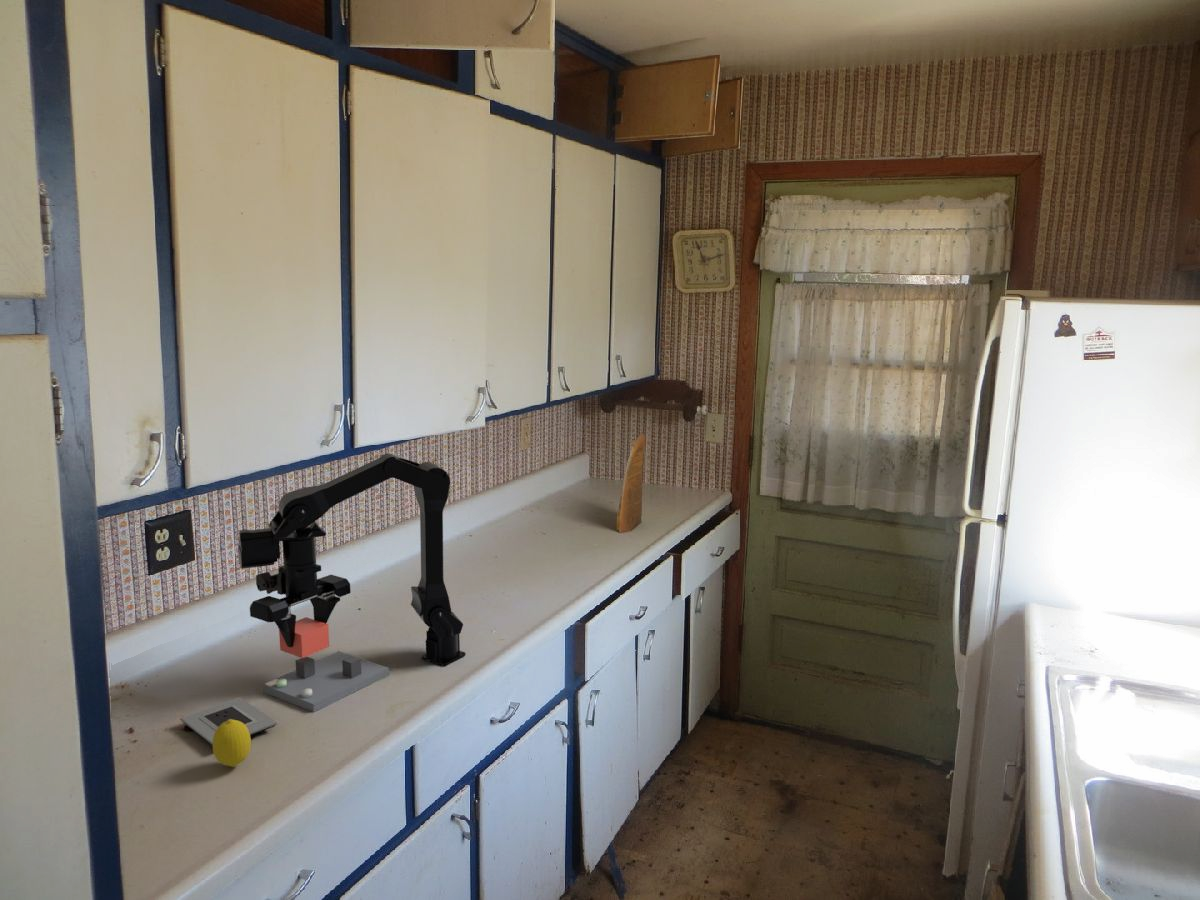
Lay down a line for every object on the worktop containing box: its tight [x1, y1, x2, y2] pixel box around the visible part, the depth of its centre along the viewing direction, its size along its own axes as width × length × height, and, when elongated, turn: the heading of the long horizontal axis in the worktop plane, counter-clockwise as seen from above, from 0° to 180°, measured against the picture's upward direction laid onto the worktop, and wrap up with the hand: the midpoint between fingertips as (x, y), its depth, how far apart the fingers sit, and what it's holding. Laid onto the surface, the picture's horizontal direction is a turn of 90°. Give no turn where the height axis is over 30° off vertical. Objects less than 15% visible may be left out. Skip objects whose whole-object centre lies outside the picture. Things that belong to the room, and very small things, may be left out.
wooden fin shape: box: [616, 432, 646, 533], centre depth 276 cm, size 7×19×28 cm, turn 160°
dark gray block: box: [295, 656, 315, 679], centre depth 171 cm, size 2×2×3 cm
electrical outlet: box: [179, 697, 278, 746], centre depth 154 cm, size 13×10×2 cm
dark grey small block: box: [342, 655, 362, 678], centre depth 171 cm, size 2×2×3 cm
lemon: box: [212, 719, 252, 768], centre depth 142 cm, size 6×6×8 cm
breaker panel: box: [262, 650, 390, 713], centre depth 171 cm, size 18×14×2 cm
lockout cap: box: [278, 616, 330, 659], centre depth 170 cm, size 6×6×4 cm
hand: (304, 640), depth 170 cm, fingers closed on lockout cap, 6 cm apart
